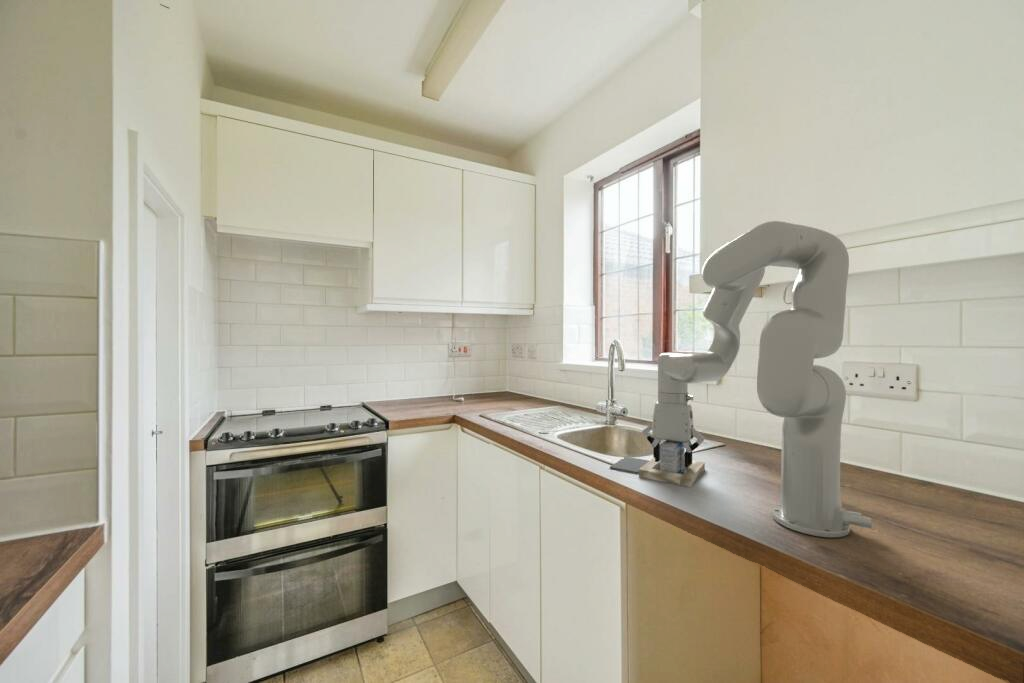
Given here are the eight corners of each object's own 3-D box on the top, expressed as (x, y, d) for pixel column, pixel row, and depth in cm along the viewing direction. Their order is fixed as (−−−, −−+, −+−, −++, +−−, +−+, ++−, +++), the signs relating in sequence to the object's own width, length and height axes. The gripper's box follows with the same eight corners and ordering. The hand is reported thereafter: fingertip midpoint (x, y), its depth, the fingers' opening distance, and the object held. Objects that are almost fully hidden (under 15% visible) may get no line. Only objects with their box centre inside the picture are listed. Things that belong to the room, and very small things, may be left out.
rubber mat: (651, 462, 123) (651, 460, 123) (637, 474, 113) (637, 472, 113) (625, 458, 127) (625, 456, 127) (609, 468, 118) (609, 466, 118)
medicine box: (676, 479, 109) (676, 446, 109) (659, 475, 112) (659, 443, 111) (685, 471, 115) (685, 439, 115) (668, 468, 118) (668, 437, 118)
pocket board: (704, 469, 116) (704, 462, 116) (690, 487, 103) (690, 479, 103) (657, 461, 124) (657, 454, 124) (638, 476, 111) (638, 469, 111)
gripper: (710, 399, 111) (710, 465, 111) (645, 394, 121) (645, 454, 121) (704, 403, 105) (703, 473, 105) (636, 397, 115) (636, 461, 115)
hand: (672, 462), depth 113 cm, fingers open, 7 cm apart
